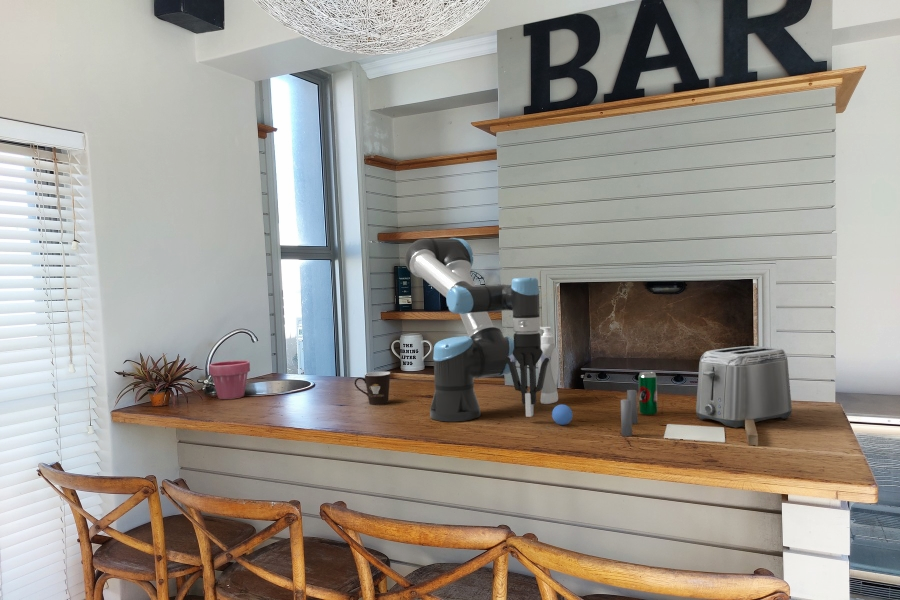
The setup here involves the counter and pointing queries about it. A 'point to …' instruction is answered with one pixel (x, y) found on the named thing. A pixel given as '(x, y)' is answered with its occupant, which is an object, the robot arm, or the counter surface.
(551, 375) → the soap bottle
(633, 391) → the post
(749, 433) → the wall
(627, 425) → the post
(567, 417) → the ball
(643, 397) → the soda can
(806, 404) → the counter surface
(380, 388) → the coffee mug
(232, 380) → the plant pot
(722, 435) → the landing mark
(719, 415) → the toaster
